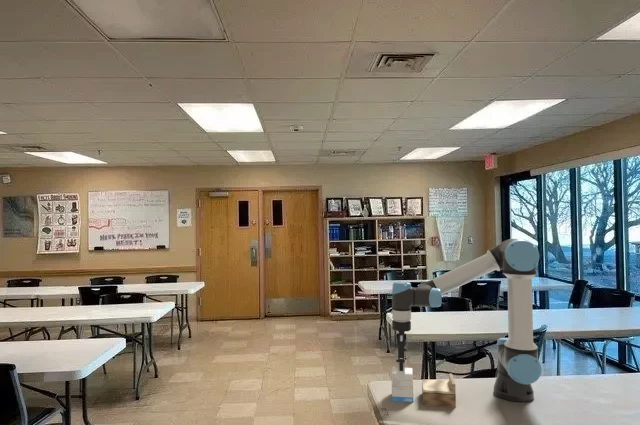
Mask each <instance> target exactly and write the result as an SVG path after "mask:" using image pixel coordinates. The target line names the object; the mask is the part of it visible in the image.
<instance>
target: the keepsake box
mask: <svg viewBox="0 0 640 425" xmlns="http://www.w3.org/2000/svg"><path fill="white" fill-rule="evenodd" d="M421 386H422V387H421V389H422V390H421V391H422V394H421V395H422V402H423V406H431V407H433V406H434V407H445V408H446V407H447V408H457V400H456V399H457V397H456V396H457V395H456V394H444V393H429V392H423V384H422V383H421Z"/></svg>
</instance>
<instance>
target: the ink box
mask: <svg viewBox="0 0 640 425" xmlns="http://www.w3.org/2000/svg"><path fill="white" fill-rule="evenodd" d="M413 376H414V375H413V368H412V367H405V379H398V366H392V369H391V401H392V402H398V403H399V402H402V403H403V402H404V403H414V379H413V378H414V377H413Z"/></svg>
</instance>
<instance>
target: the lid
mask: <svg viewBox="0 0 640 425" xmlns="http://www.w3.org/2000/svg"><path fill="white" fill-rule="evenodd" d="M422 384H423V392H429V393H444V394H455V395H456V393H457V392H456V388H457V387H456V382H455V379H454V375H453V373H448V380H439V379H425V378H424V379H423V378H422V379H421V385H422Z"/></svg>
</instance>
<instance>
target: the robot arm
mask: <svg viewBox="0 0 640 425" xmlns="http://www.w3.org/2000/svg"><path fill="white" fill-rule="evenodd" d="M539 261H540V252H539V249H538V248H537V247H536V245H535V244H534V243H532V242H531V241H529V240H526V239H524V238H509V239H506V240H504V241H502V242H501V243H499V244H497V245H495V246H494V247H491V248H490V249H487V250H486V253H485V254H483V255H481V256H479V257H476V258H475V259H473V260H470V261H467V262H466V263H465V264H462V265H460V266H458V267H456V268H454V269H452V270H449V271H447V272H445V273H443V274H441V275H439V276H437V277H435V278H432V279H430V280H428V281H426V282H421V283H420V284H419V285H417V287H413V286H412V283H411V282H410V281H409V282H408V281H395V282H393V284H392V289H391V291H392V292H391V299H392V300H391V302H392V303H391V305H392V306H391V307H392V310H391V311H390V314H391V315H392V316H391V317H392V322H391V326H392V327H391V329H392V330H393V331H395V332H397V333H396V346H397V350H398V351H397V359H395V361H396V363H397V367H398V379H405V368H406V366H405V365H406V352H407V348H405V347H406V345H407V344H406V343H407V334H406V333H405V332H410V331H411V329H412V322H411V320H412V307H421V308H422V307H424V308H439V307H441V306H442V300H443V299H442V296H443V295H445V294H447V293H449V292H451V291H453V290H455V289H458V288H460V287H461V286H464V285H466V284H468V283H471V282H472V281H475V280H478V279H479V278H482V277H484V276H486V275H488V274H490V273H492V272H494V271H497V272H501V271H502V274H503V275H504V276H505V277H506V278H507V279H506V280H507V317H508V318H507V319H508V320H507V327H508V332H507V333H508V334H507V335H508V337H499V338H498V339H497V341H496V347H497V348H496V351H497V353H496V354H497V358H496V359H497V376H496V379H495V381H494V384H493V393H494V395H495V396H496V397H498V398H501V399H503V400H506V401H511V402H516V403H517V402H519V403H521V402H522V403H525V402H530V401H533V400H534V398H535V393H534V389H533V386H532V384H533V383H536V382H537V381H538V380H539V379H540V378H541V376H542V373H543V370H542V368H543V367H542V364H541V363H540V361H539V352H538V351H539V350H538V349H539V348H538V346H537V344H536V343H535V342H534V328H533V327H534V323H533V322H534V320H533V318H534V317H533V316H534V314H533V279H534V277H535V276H537V265H538V264H539Z"/></svg>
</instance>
